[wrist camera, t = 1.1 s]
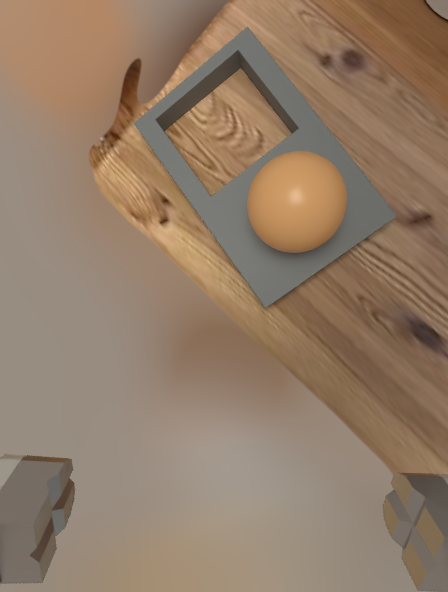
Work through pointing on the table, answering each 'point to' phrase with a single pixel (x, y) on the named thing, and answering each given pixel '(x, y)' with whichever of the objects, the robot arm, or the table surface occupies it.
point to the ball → (297, 201)
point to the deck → (233, 197)
